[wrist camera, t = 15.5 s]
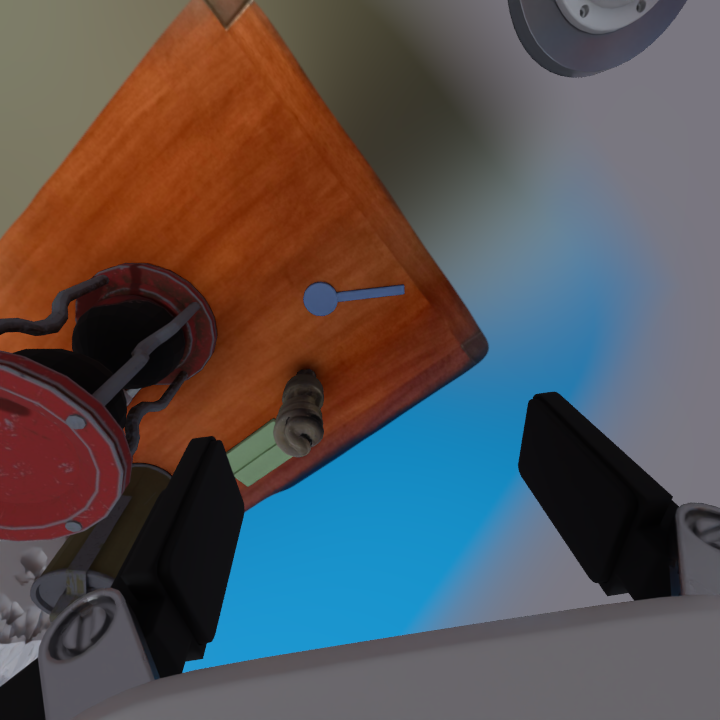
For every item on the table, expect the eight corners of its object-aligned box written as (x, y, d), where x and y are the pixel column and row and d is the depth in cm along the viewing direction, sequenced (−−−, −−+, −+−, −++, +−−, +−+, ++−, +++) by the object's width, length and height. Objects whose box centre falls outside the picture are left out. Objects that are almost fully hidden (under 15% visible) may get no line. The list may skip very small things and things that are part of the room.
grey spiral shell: (308, 397, 52) (302, 470, 39) (277, 377, 50) (260, 448, 37) (331, 371, 51) (334, 438, 37) (300, 350, 49) (291, 413, 35)
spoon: (403, 272, 45) (404, 273, 44) (404, 304, 47) (405, 306, 46) (301, 283, 44) (300, 285, 44) (306, 316, 46) (306, 317, 46)
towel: (273, 417, 53) (272, 423, 52) (304, 444, 56) (303, 450, 55) (218, 457, 56) (216, 464, 55) (250, 481, 59) (248, 487, 58)
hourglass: (163, 238, 40) (-31, 307, 18) (241, 349, 48) (171, 495, 26) (52, 298, 42) (-246, 426, 20) (144, 396, 50) (-1, 569, 27)
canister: (176, 512, 60) (114, 649, 43) (110, 504, 58) (16, 645, 41) (181, 466, 56) (115, 598, 38) (109, 455, 54) (4, 590, 36)
